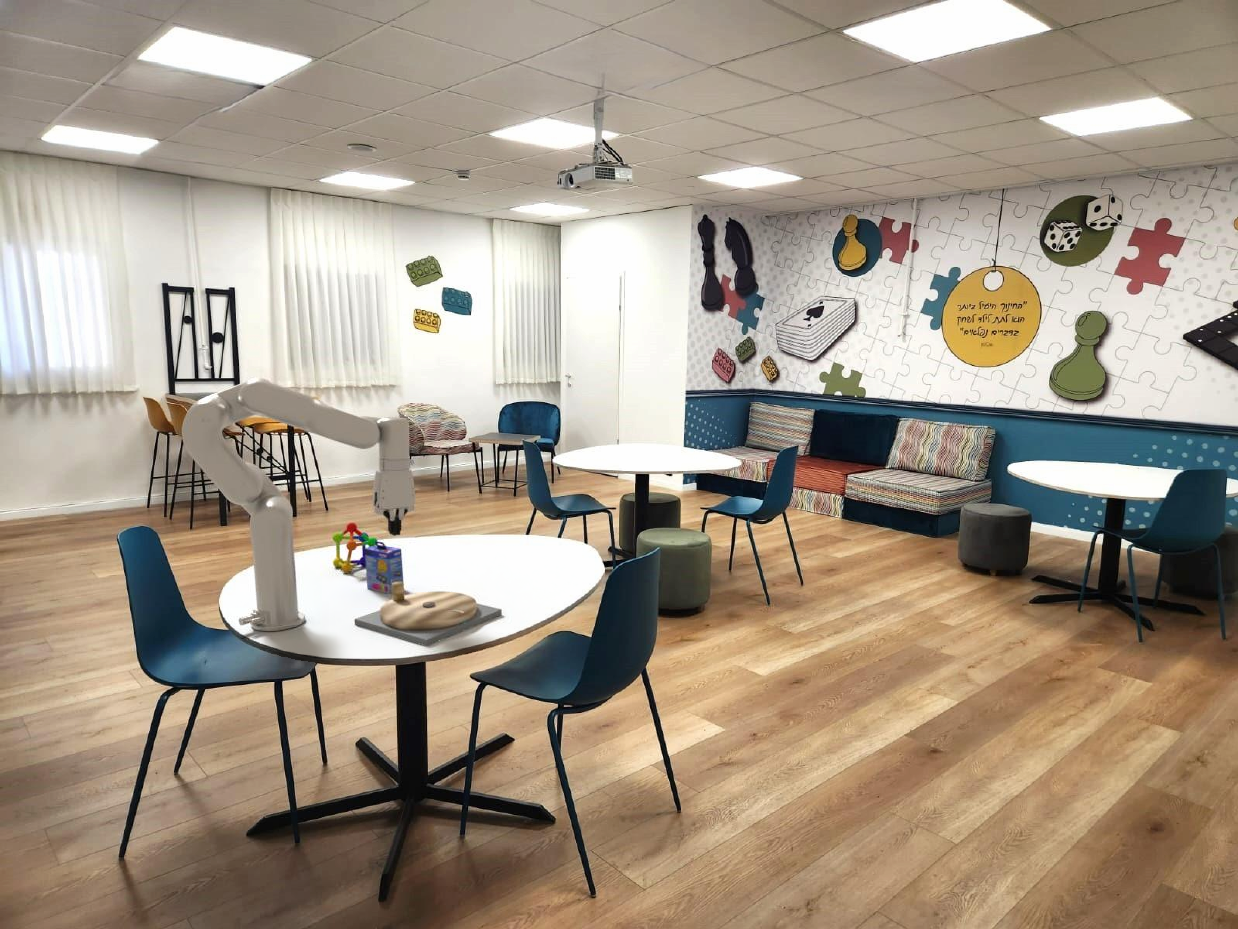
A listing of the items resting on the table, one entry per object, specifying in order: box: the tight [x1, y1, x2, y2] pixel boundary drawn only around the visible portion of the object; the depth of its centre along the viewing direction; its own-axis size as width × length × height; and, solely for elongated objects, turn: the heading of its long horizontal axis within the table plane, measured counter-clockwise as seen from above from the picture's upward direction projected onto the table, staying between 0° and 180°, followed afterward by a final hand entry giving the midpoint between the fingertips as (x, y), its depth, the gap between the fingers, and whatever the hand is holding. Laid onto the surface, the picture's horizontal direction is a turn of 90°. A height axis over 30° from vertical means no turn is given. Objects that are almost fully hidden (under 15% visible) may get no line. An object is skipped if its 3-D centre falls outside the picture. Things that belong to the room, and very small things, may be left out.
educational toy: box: [332, 522, 378, 574], centre depth 256 cm, size 16×13×15 cm
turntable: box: [379, 581, 478, 630], centre depth 208 cm, size 24×24×6 cm
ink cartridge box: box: [365, 540, 404, 595], centre depth 233 cm, size 10×6×14 cm, turn 59°
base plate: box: [354, 602, 503, 647], centre depth 209 cm, size 26×26×2 cm
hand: (394, 534), depth 213 cm, fingers closed
